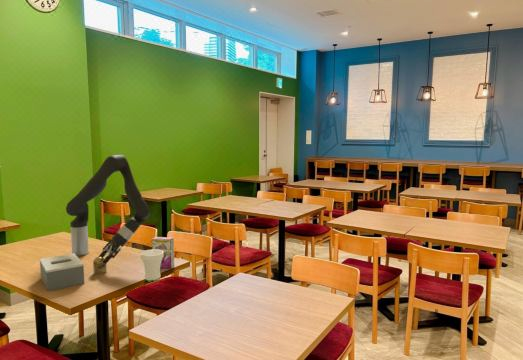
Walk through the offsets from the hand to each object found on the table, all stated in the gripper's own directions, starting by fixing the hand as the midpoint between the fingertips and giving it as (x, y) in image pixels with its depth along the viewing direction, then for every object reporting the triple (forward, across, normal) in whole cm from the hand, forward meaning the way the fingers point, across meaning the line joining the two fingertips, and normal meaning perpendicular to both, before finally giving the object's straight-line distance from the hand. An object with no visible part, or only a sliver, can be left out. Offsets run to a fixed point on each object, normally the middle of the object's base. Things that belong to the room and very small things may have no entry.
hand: (101, 260), depth 202 cm
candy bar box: (-16, +11, +26) cm, 32 cm away
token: (+6, 0, +4) cm, 7 cm away
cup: (-8, +25, +17) cm, 31 cm away
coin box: (+18, 0, -9) cm, 20 cm away
